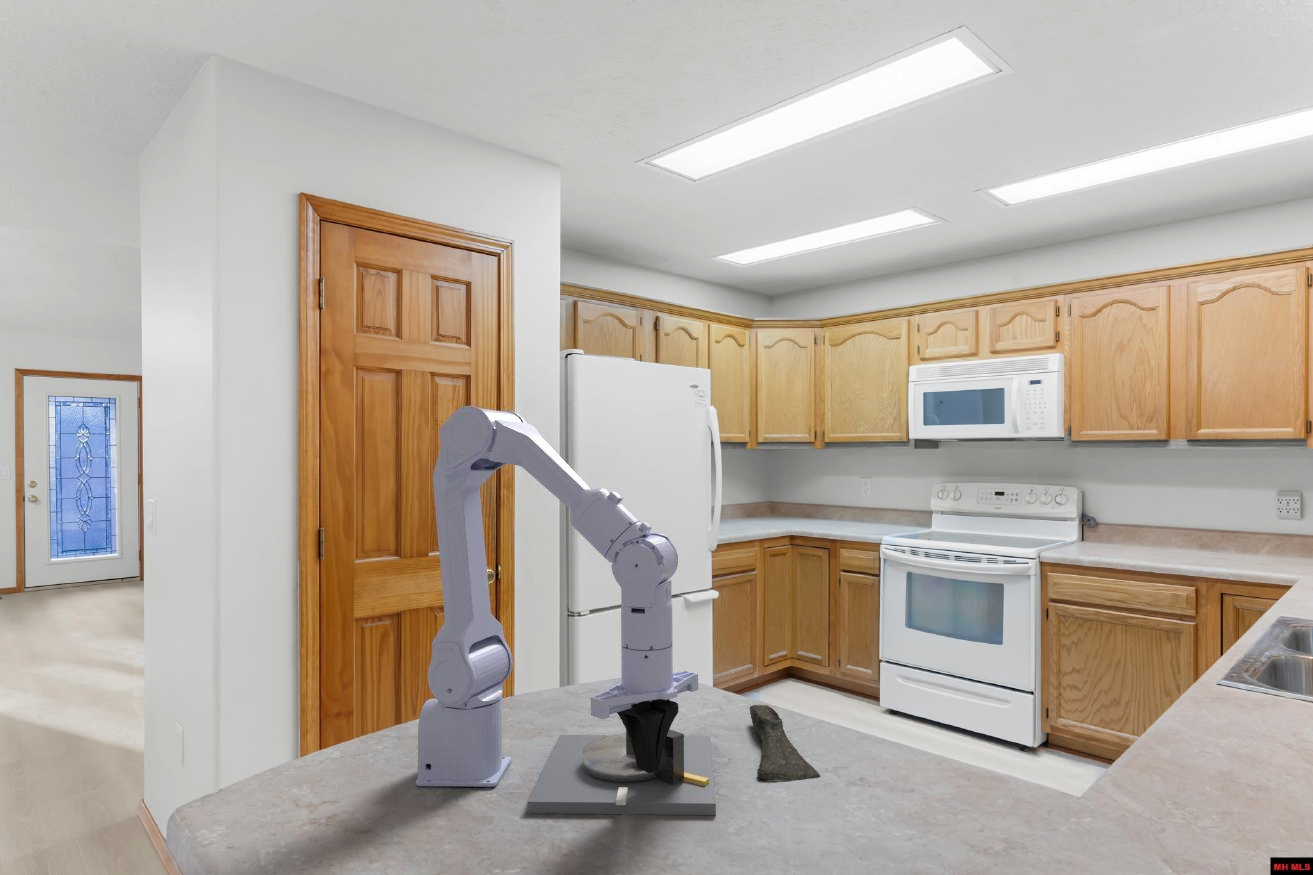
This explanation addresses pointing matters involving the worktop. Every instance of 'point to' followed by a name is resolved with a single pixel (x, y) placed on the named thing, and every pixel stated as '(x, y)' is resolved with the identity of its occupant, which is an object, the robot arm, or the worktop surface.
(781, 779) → the tool
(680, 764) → the dial
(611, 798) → the board
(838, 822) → the worktop surface
